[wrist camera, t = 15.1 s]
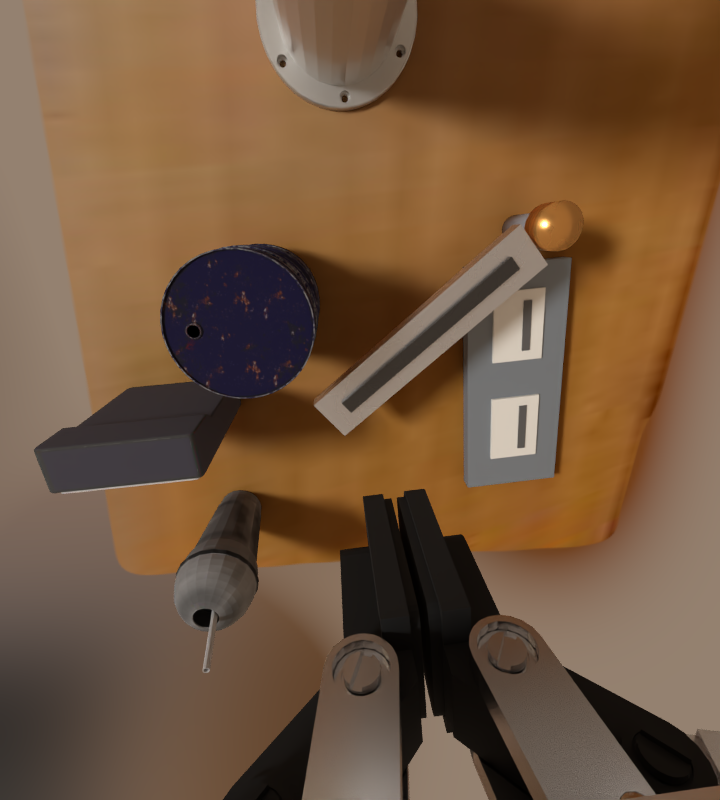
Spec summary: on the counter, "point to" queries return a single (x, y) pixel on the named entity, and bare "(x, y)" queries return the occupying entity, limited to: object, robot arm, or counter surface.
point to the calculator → (139, 440)
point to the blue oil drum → (241, 319)
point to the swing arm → (450, 313)
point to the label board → (516, 380)
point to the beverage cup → (221, 569)
